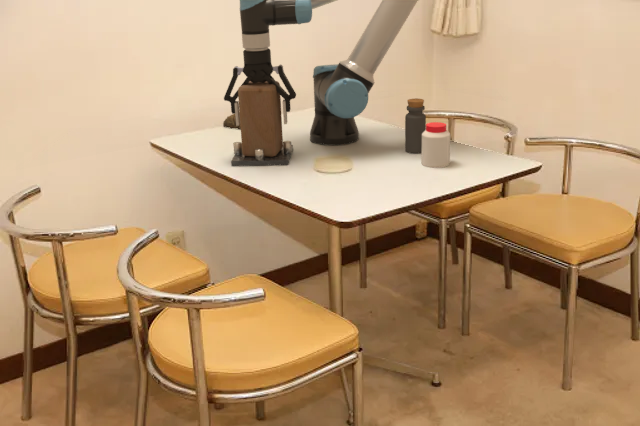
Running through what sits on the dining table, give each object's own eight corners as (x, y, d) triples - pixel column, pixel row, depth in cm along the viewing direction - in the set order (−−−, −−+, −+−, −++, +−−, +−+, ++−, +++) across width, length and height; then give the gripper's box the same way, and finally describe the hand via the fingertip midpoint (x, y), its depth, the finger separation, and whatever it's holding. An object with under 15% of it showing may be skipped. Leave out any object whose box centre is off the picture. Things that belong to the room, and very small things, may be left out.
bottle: (429, 150, 227) (430, 99, 222) (417, 154, 223) (417, 103, 218) (413, 147, 231) (413, 97, 226) (401, 151, 227) (401, 100, 222)
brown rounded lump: (218, 126, 264) (217, 112, 263) (247, 119, 272) (246, 105, 270) (241, 132, 256) (240, 117, 254) (271, 125, 263) (270, 110, 262)
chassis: (294, 149, 233) (293, 134, 232) (289, 165, 218) (288, 150, 216) (238, 150, 234) (237, 135, 233) (229, 166, 219) (228, 151, 217)
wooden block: (275, 157, 220) (272, 87, 213) (241, 157, 222) (236, 87, 215) (283, 148, 229) (280, 80, 222) (251, 147, 231) (246, 80, 224)
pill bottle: (432, 169, 210) (432, 129, 206) (415, 162, 216) (416, 123, 213) (455, 164, 213) (456, 125, 209) (438, 158, 220) (439, 119, 216)
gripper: (302, 45, 218) (306, 119, 225) (214, 48, 219) (220, 121, 227) (300, 49, 211) (304, 125, 218) (209, 52, 212) (216, 128, 220)
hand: (261, 124), depth 223 cm, fingers open, 13 cm apart
